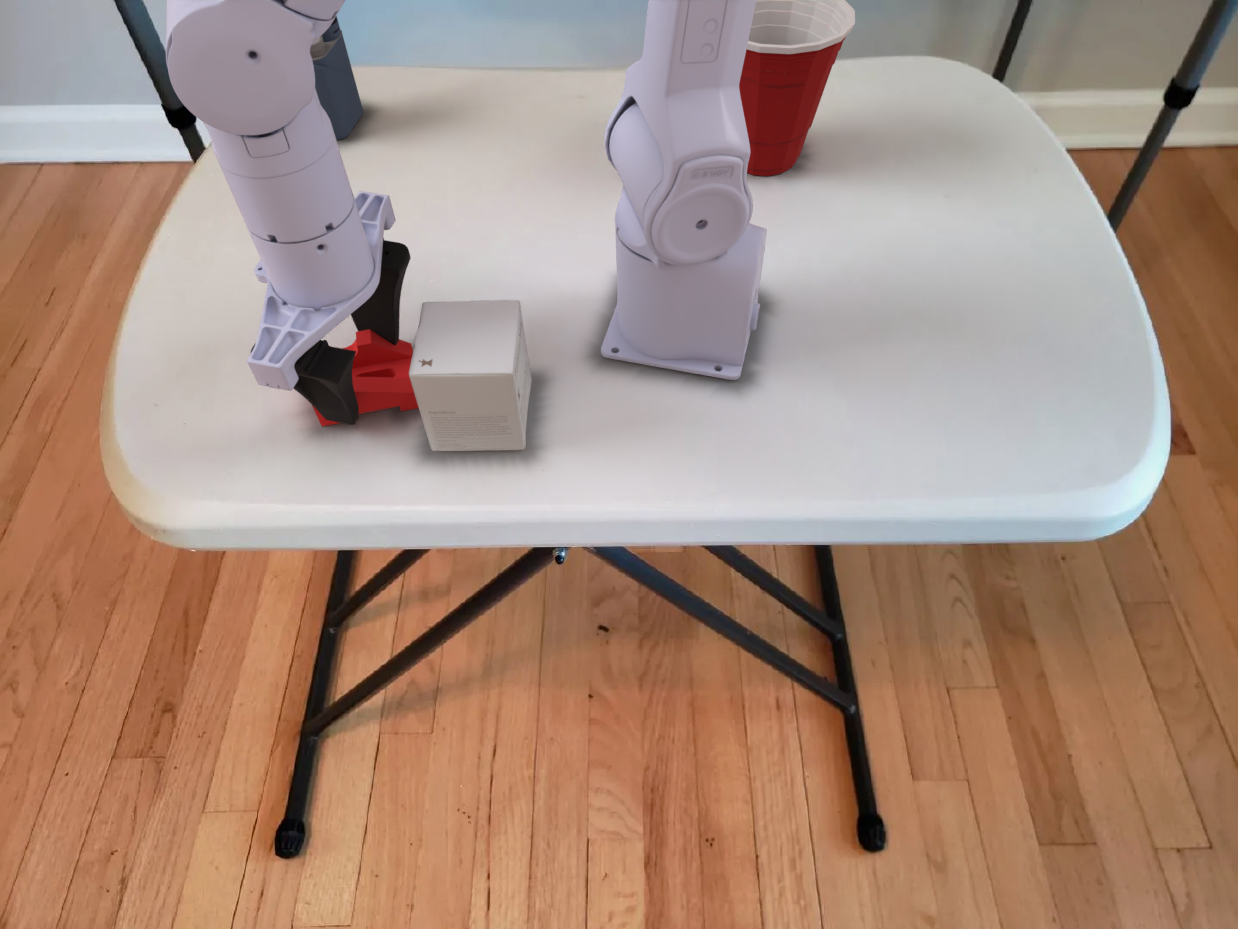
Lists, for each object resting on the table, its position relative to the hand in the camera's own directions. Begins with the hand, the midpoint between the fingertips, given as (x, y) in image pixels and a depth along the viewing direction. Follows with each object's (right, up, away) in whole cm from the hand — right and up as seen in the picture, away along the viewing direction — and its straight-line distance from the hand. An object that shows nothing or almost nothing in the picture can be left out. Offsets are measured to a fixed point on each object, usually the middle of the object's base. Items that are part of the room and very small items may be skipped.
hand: (363, 379), depth 59 cm
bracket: (0, -1, +2) cm, 2 cm away
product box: (+8, -2, 0) cm, 8 cm away
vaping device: (-7, +24, +19) cm, 31 cm away
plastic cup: (+28, +20, +16) cm, 38 cm away
